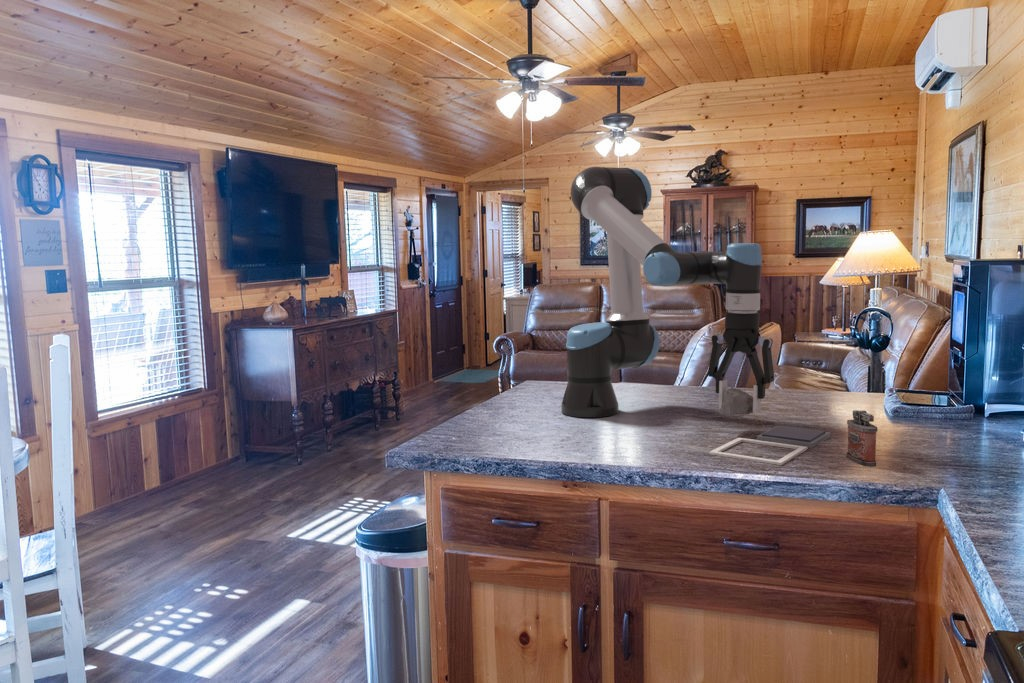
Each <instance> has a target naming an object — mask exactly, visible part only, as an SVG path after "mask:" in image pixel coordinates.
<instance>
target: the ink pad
mask: <svg viewBox="0 0 1024 683" xmlns="http://www.w3.org/2000/svg"><path fill="white" fill-rule="evenodd" d="M829 438H831V432H830V431H826V430H821V429H814V428H813V429H812V428H804V427H795V426H788V425H781V424H780V425H776V426H774V427H771V429H767V430H766V431H765V432H762V433H760V434H758V435H757V436H756V440H760V441H768V442H775V443H782V444H790V445H797V446H805V447H808V449H809V448H810V449H813V448H815V447H817V446H818V445H820V444H822V443H823V442H824V441H826V440H828V439H829Z"/></svg>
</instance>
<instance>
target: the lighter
mask: <svg viewBox="0 0 1024 683" xmlns="http://www.w3.org/2000/svg"><path fill="white" fill-rule="evenodd" d="M852 418H853V419H848V420H846V425H847V452H846V453H845V454H846V456H845V457H846V459H848V460H850V462H853V463H855V464H857V465H859V466H863V467H866V468H869V467H870V468H875V467H877V459H876V454H877V451H876V450H877V432H878V427H877V426H876V425H874V424H872V423H871V422H874V420H875V419H874V418H875V416H874V415H873V414H871V413H869V412H867V410H863V409H862V410H859V409H858V410H857V409H854V410H852Z"/></svg>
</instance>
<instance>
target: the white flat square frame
mask: <svg viewBox="0 0 1024 683" xmlns="http://www.w3.org/2000/svg"><path fill="white" fill-rule="evenodd" d="M741 442H743V443H749V444H755V445H756V444H758V445H763V446H770V447H771V446H772V447H778V448H785V449H792V450H793V451H791V452H789V453H787V454H786V455H785V456H783V457H780V458H779V459H778V460H777V459H776V460H775V459H771V458H763V457H756V456H748V455H743V454H737V453H729V452H724V451H726V450H729V449H730V448H732V447H733V446H736V445H738V444H740V443H741ZM808 449H809V448H808V447H805V446H797V445H790V444H782V443H775V442H768V441H760V440H757V439H752V438H745V437H737V438H735V439H733V440H731V441H729V442H727V443H724V444H723V445H720V446H718V447H715V448H714V449H712V450H711V451H709V452H708V454H709V455H712V456H718V457H725V458H731V459H738V460H745V461H751V462H756V463H757V462H758V463H762V464H769V465H777V466H782V465H784V464H786V463H788V462H789V461H790V460H793V459H794V458H796V457H797V456H799V455H800V454H802V453H804V452H805V451H807V450H808Z"/></svg>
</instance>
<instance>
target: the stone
mask: <svg viewBox="0 0 1024 683" xmlns="http://www.w3.org/2000/svg"><path fill="white" fill-rule="evenodd" d="M718 414H720V415H722V416H723V415H727V416H734V415H735V416H737V415H742V416H743V415H750V414H754V413H753V396H752V395H751V394H749V393H747V392H746V391H743V390H741V389H739V388H735V387H730V388H729V389H728V388H727V392H725V394H724V398H723V404H722V405H721V408H719V410H718Z"/></svg>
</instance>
